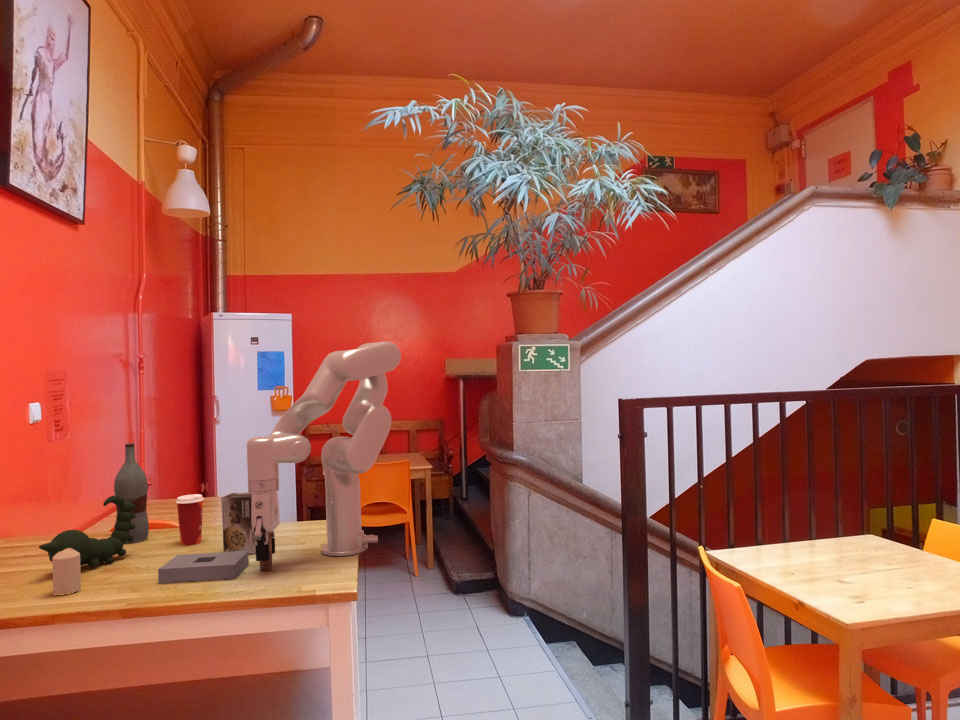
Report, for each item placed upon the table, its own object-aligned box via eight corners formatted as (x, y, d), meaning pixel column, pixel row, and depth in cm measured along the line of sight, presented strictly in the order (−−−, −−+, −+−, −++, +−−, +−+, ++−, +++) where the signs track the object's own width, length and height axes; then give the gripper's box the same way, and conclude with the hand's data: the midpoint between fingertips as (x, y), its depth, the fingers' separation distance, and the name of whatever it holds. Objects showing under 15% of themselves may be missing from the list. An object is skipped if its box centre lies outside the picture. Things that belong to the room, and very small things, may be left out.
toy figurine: (117, 559, 182) (25, 579, 160) (121, 492, 184) (30, 502, 162) (140, 562, 179) (48, 583, 156) (144, 494, 180) (53, 504, 158)
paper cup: (210, 541, 193) (209, 494, 193) (186, 547, 186) (185, 499, 187) (194, 538, 197) (193, 493, 197) (171, 544, 191) (170, 497, 191)
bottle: (108, 544, 194) (105, 445, 194) (130, 536, 202) (128, 441, 203) (134, 545, 192) (131, 445, 192) (156, 537, 200) (153, 441, 201)
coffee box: (263, 548, 183) (262, 491, 183) (253, 554, 177) (251, 496, 177) (233, 548, 184) (231, 492, 184) (222, 554, 178) (220, 496, 178)
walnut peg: (273, 567, 164) (272, 528, 164) (270, 571, 161) (269, 531, 161) (261, 568, 164) (260, 529, 164) (258, 572, 161) (257, 532, 161)
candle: (61, 588, 153) (60, 547, 153) (85, 587, 154) (84, 545, 154) (48, 596, 148) (47, 553, 148) (73, 595, 148) (71, 552, 148)
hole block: (248, 564, 168) (248, 550, 168) (234, 579, 156) (234, 564, 156) (177, 568, 166) (177, 554, 166) (158, 583, 154) (158, 569, 154)
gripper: (270, 491, 154) (272, 566, 154) (286, 479, 171) (288, 547, 171) (238, 492, 154) (240, 568, 153) (257, 480, 171) (259, 548, 170)
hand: (265, 556), depth 162 cm, fingers open, 5 cm apart
